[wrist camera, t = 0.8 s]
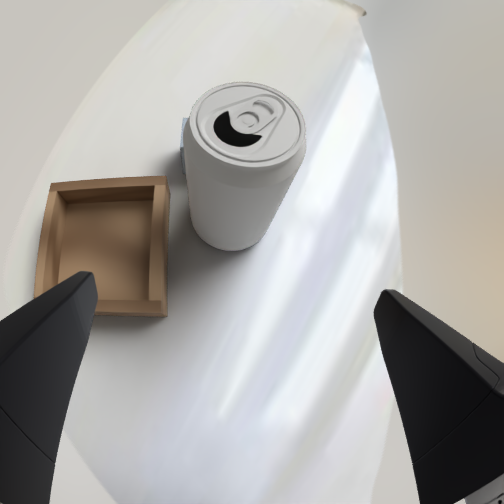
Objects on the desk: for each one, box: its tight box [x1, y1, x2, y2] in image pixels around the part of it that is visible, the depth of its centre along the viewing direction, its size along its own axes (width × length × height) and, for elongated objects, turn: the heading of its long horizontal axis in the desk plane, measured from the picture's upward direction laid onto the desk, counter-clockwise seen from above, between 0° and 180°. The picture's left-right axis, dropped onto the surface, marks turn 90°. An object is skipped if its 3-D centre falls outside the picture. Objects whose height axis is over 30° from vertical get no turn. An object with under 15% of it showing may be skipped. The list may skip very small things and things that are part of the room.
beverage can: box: [183, 82, 306, 251], centre depth 19 cm, size 6×6×12 cm
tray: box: [34, 176, 170, 317], centre depth 21 cm, size 10×10×3 cm
